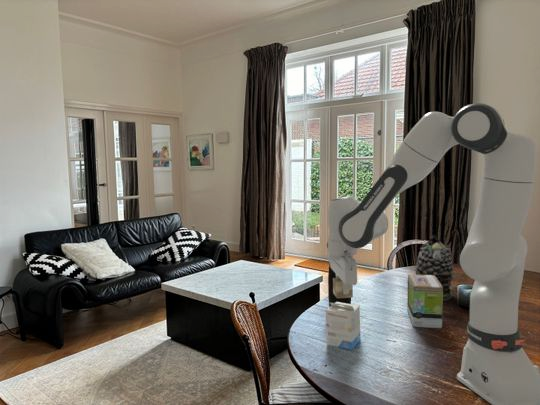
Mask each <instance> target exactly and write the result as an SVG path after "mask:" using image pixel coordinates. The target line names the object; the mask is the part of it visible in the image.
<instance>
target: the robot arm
mask: <svg viewBox="0 0 540 405" xmlns="http://www.w3.org/2000/svg"><path fill="white" fill-rule="evenodd" d="M457 145H460V146H462V147H464V148H466V149H469V150H472V151H475V152H477V153H479V154H483V157H484V169H483V175H482V179H481V180H482V181H481V186H480V191H479V192H480V193H479V198H478V205H477V208H476V212H475V215H474V218H473V220H472V222H471V223H472V224H471V226H470V230H469V233H468V235H467V239H466V242H465V244H464V247H463V249H462V250H461V252H460V255H459V264H460V267H461V269H462V272H464V273H465V275H466V276H468V277H469V278H470V279H472V280H474V282H473V285H472V289H471V291H470V294H469V320H468V322H467V326H466V330H467V331H466V332H467V334H466V335H467V337H468V338H467V342H466V344H465V345H464V347H463V349H462V350H463V351H462V356H461V357H462V358H461V366H460V371H459V372H458V373H457V374H456V379H457V381H459V382H460V383H462V384H463V385H464V386H466V387H467V388H469V389H470V390H471V391H473V392H474V393H476V394H477V395H478V396H480V397H481V398H482V399H484V400H485V401H487V402H488V403H489V404H491V405H540V367H539V366H538V365H536V364H533V362H532V360H530V357H528V355H527V353H526V352H525V350H524V348H523V345H525V339H522V334H521V333H520V329H519V328H518V326H519V324H518V323H519V303H520V294H521V289H522V286H523V279H524V274H525V273H524V272H525V264H526V259H527V258H526V257H527V253H528V244H527V240H526V239H525V237H523V236H522V235H521V233H522V229H523V228H524V225H525V222H526V220H527V217H528V215H529V210H530V206H531V200H532V196H533V195H532V194H533V191H534V190H533V188H534V183H535V178H536V171H537V146H536V143H535V141H534V139H532V138H530V137H529V136H527V135H525V134H521V133H514V132H513V133H512V132H510V131H508V130H507V129H506V127H505V120H504V118H503V115H502V114H501V112H500V111H499V110H498V109H497V108H496V107H494V106H492V105H489V104H486V103H481V102H479V103H471V104H467V105H465V106H463V107H462V108H460V109H459V110H458V111H457V112H456V114H455V115H454V116H452V115H451V116H450V115H448V114H446V113H444V112H440V111H430V112H427V113H426V114H424V115H423V116H422V117H421V118H420V119H419V121H418V122H416V124H414V126H413V127H412V128H411V129H410V130H409V132H408V133H407V135H406V136H405V138H404V139H403V140H402V142H401V143H400V144H399V146H398V148H397V149H396V151H395V153H394V154H393V155H392V158H391V159H390V161H389V163H388V164H387V165H386V167H385V169H384V171H383V172H382V173H381V175H380V177H379V178H378V180H377V181H375V183H374V184H373V186H372V187H371V188H370V190H369V191H368V193H367V194H366V195H365V196H364V198H363V199H362V201H358V199H356V197H354V196H352V195H346V196H341V197H337V198H333V199H332V200H331V201H329V204H328V211H327V226H328V230H329V232H328V237H327V240H328V241H327V242H326V248H327V250H328V251H327V253H328V261H329V262H330V267H331V269H332V270H333V271H334V272H335V273H336V278H340V279H341V280H342V282H343V288H342V292H343V294H349V288H350V285H353V286H356V285H357V283H358V269H357V268H358V266H357V261H356V259H355V258H354V257H353V256H355V255H356V254H357V251H358V249H361V248H364V247H366V246H367V245H368V244H370V243H372V242H373V241H375V240H377V239H379V238H381V237H382V236H383V235H384V234H386V233H387V230H388V228H389V220H388V217H387V215H386V214H385V213H384V212H385V211H386V209H387V208H388V207H389V205H390V204H391V203H392V201H393V200H394V199H396V197H397V196H398V195H400V193H403V192H404V191H406V190H407V189H409V188H410V187H412V186H414V185H417V184H418V183H420V182H421V181H423V180H424V179H425V178H426V177H427V176H428V175H429V174H430V173H431V172H432V171H434V169H435V168H436V166H437V165H438V164H439V163H440V161H441V160H442V159H443V157H444V156H445V155H446V153H447V152H448V151H450V149H451V148H453V146H457ZM329 262H328V263H329Z"/></svg>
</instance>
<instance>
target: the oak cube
mask: <svg viewBox="0 0 540 405" xmlns="http://www.w3.org/2000/svg"><path fill="white" fill-rule="evenodd" d="M353 286H354V285H350V288H349V294H343V292H342V288H343V282H342V280H341V279H340V278H333V293H334V295H335V296H336V298H351V299H353V296H354V295H353V292H354V291H353V290H354V288H353Z"/></svg>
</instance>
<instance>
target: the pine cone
mask: <svg viewBox="0 0 540 405" xmlns="http://www.w3.org/2000/svg"><path fill="white" fill-rule="evenodd" d="M416 260H417V261H416V267H415V270H414V271H415V273H414V275H435V277H436V278H437V279H438V281H439V282H440V284H441V285H442V287H443V301H449V300H450V299H451V298H452V295H453V294H452V291H453V290H454V286H453V285H452V280H453V279H454V278H453V271H454V266H453V263H452V260H453V254H452V251H451V248H449V247H446V244H443V243H442V241H441V240H440V239H438V238H437V235H436V234H432V237H431V238H429V239H428V241H426V243H423V245H422V246H421V247H420V248H419V252H418V255H417V258H416Z"/></svg>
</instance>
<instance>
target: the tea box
mask: <svg viewBox="0 0 540 405" xmlns="http://www.w3.org/2000/svg"><path fill="white" fill-rule="evenodd" d="M443 301H444V300H443V287H442V285H441V284H440V282H439V281H438V279H437V278H436V277H435V275H416V274H410V273H409V274H407V307H406V308H407V309H406V310H407V313H408V316H409V319H410V322H411V324H412V327H414V328H428V329H429V328H431V329H442V328H443V305H444V304H443V303H444V302H443Z"/></svg>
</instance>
